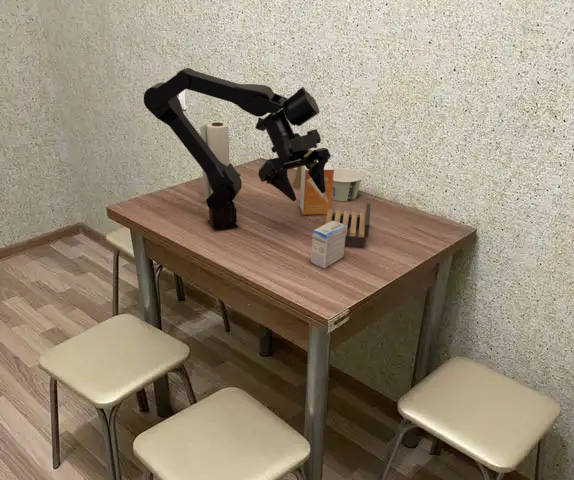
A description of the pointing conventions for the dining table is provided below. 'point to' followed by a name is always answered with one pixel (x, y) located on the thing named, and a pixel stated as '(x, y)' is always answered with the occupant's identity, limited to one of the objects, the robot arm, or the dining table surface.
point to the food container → (345, 184)
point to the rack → (352, 225)
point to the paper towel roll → (215, 147)
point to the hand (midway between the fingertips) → (309, 196)
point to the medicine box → (328, 244)
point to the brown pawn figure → (298, 173)
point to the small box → (316, 192)
